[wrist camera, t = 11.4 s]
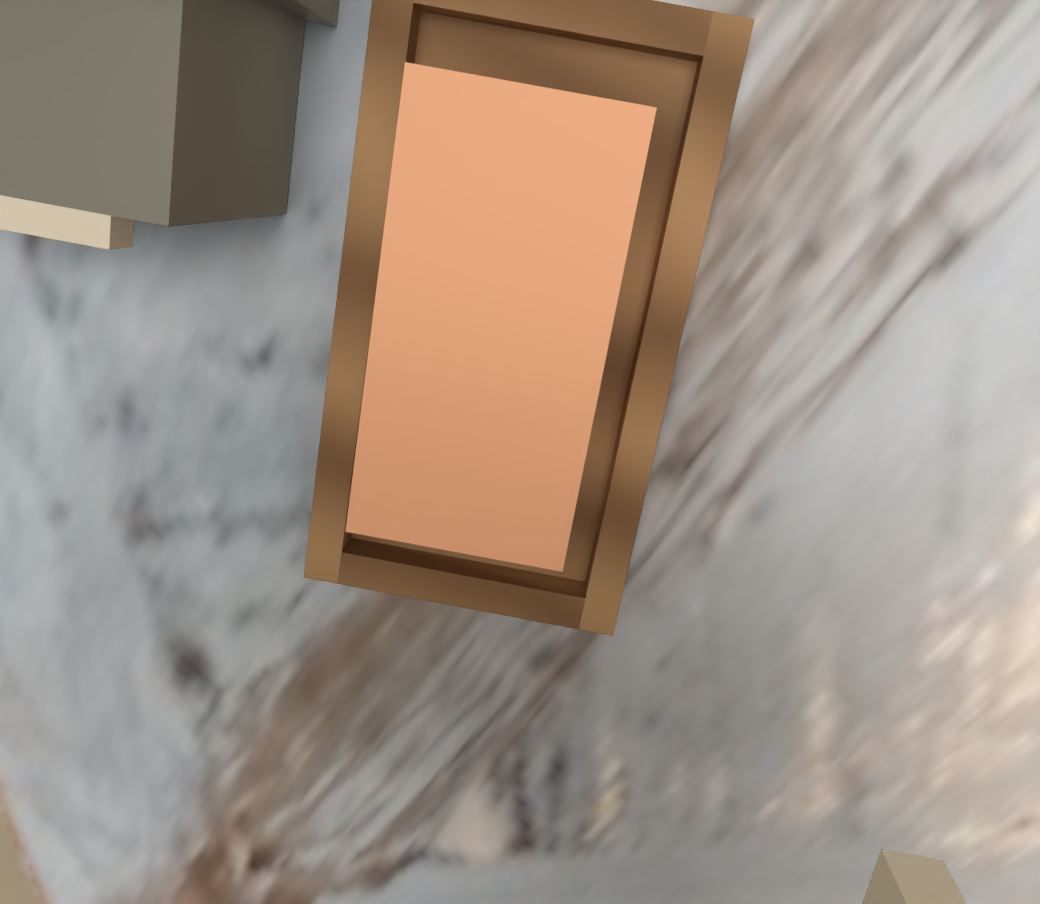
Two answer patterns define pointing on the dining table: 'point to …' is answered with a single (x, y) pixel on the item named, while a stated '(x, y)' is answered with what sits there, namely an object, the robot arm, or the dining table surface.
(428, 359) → the peach rectangular brick
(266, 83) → the dispenser
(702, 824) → the dining table surface
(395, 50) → the tray
